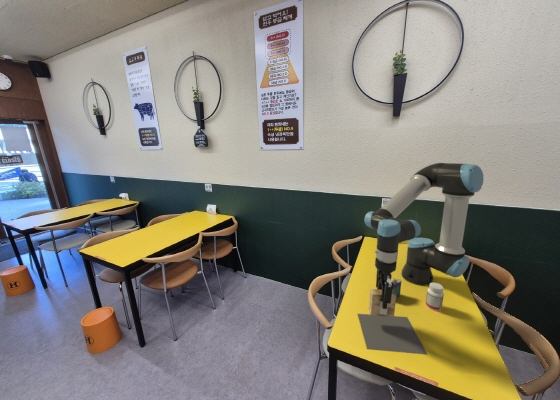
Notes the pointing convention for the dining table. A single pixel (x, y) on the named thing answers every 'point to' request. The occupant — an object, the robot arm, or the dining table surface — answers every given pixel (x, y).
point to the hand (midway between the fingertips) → (381, 309)
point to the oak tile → (375, 303)
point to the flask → (397, 287)
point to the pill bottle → (434, 297)
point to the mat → (390, 334)
